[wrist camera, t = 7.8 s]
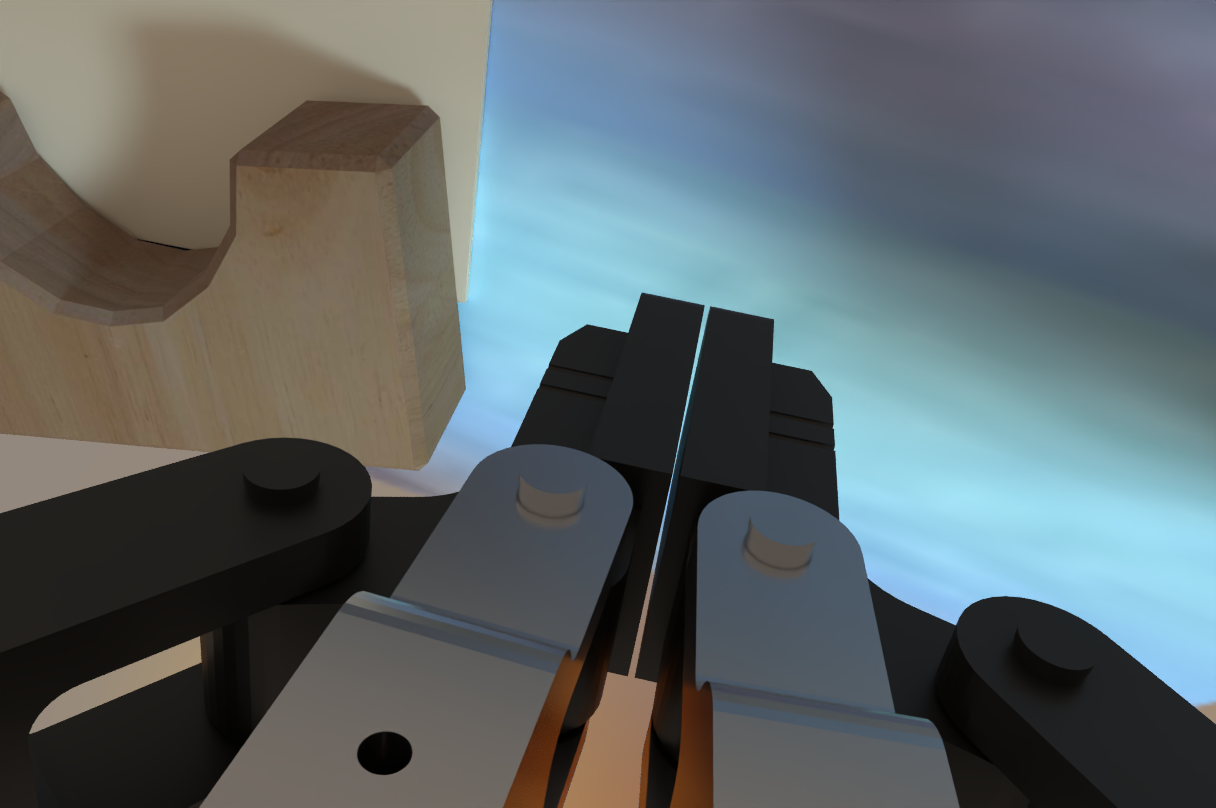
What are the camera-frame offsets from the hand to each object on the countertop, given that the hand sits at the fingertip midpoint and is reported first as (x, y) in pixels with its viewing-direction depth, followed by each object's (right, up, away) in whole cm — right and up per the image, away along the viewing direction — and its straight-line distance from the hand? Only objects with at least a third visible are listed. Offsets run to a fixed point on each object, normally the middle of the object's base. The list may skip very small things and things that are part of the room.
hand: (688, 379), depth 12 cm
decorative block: (-6, +3, +22) cm, 24 cm away
